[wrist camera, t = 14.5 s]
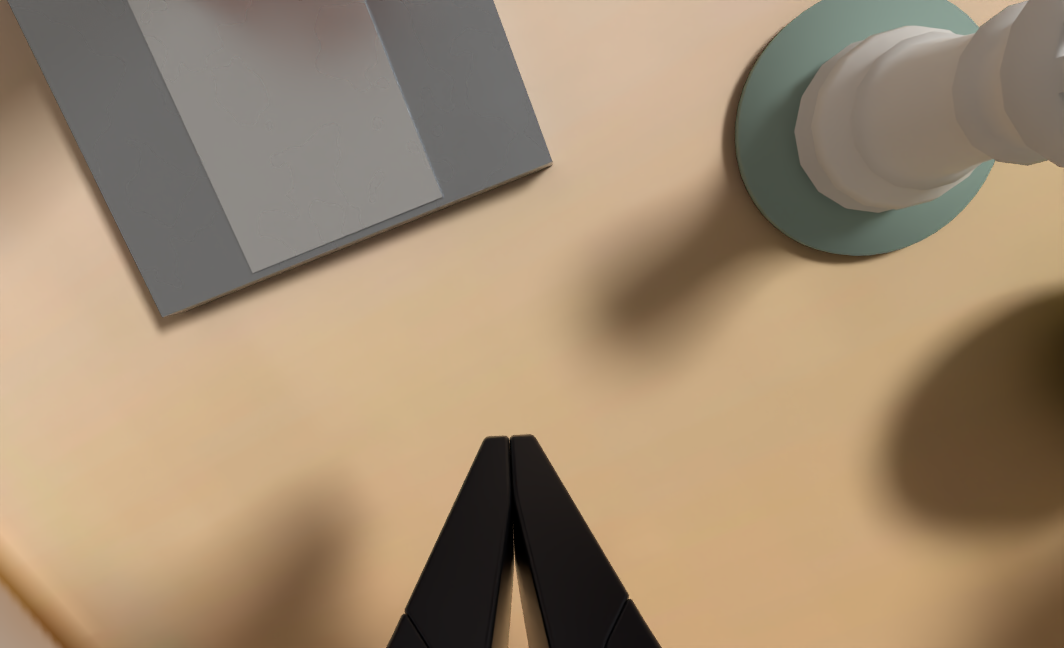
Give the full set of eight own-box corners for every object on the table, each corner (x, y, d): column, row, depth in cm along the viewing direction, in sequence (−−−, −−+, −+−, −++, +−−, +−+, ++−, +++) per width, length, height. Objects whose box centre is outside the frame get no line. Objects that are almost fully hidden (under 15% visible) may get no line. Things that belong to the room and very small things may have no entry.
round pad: (886, 300, 17) (896, 303, 17) (685, 169, 17) (689, 167, 16) (1050, 83, 16) (1066, 78, 16) (837, -64, 16) (847, -73, 15)
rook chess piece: (788, 45, 16) (1019, -125, 8) (963, 32, 15) (1383, -157, 8) (785, 218, 17) (994, 219, 9) (953, 207, 16) (1323, 200, 8)
